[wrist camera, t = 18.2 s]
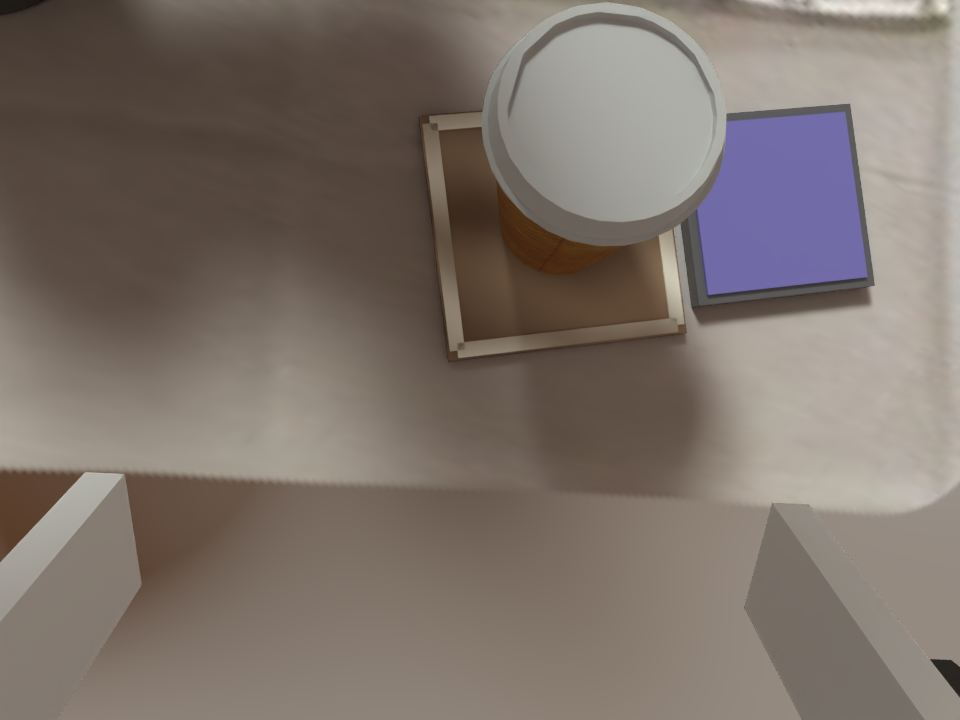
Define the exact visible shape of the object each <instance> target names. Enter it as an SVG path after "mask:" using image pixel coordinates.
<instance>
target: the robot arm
mask: <svg viewBox="0 0 960 720" xmlns="http://www.w3.org/2000/svg"><path fill="white" fill-rule="evenodd" d="M41 1H43V0H0V14H5V13H9V12H13V11H17V10H20V9H23V8H27V7H29V6H32V5H34V4H37V3H39V2H41ZM141 585H142V584H141V578H140V571H139V565H138V558H137V552H136V546H135V539H134V532H133V526H132V520H131V513H130V506H129V500H128V494H127V487H126V480H125V474H110V473H88V472H85V473H84V474H83V475H82V476H81V478H79V480H78V481H77V482H76V483H75V484H74V485H73V486H72V487H71V488H70V489H69V490H68V491H67V492H66V493H65V494H64V495H63V496H62V498H61V499H60V500H59V501H58V502H57V503H56V504H55V505H54V506H53V507H52V508H51V509H50V510H49V511H48V512H47V513H46V515H45V516H44V517H43V518H42V519H41V520H40V521H39V522H38V523H37V524H36V525H35V526H34V527H33V528H32V529H31V530H30V532H29V533H28V534H27V535H26V536H25V537H24V538H23V539H22V540H21V541H20V542H19V543H18V544H17V546H15V547H14V549H13V550H12V551H11V552H10V553H9V554H8V555H7V556H6V557H5V558H4V559H3V560H2V561H1V562H0V720H57V719H58V717H59V715H60V714H61V712H62V711H63V709H64V707H65V706H66V704H67V703H68V701H69V699H70V698H71V696H72V695H73V693H74V691H75V690H76V688H77V687H78V685H79V684H80V682H81V680H82V679H83V677H84V676H85V674H86V672H87V671H88V669H89V667H90V666H91V664H92V663H93V661H94V659H95V658H96V656H97V655H98V653H99V652H100V650H101V649H102V647H103V645H104V644H105V642H106V640H107V639H108V637H109V636H110V634H111V632H112V631H113V629H114V628H115V626H116V625H117V623H118V621H119V620H120V618H121V617H122V615H123V613H124V612H125V610H126V609H127V607H128V605H129V604H130V602H131V601H132V599H133V597H134V596H135V594H136V593H137V591H138V589H139V588H140V586H141ZM744 608H745V610H746V612H747V614H748V616H749V618H750V620H751V622H752V624H753V625H754V628H755V630H756V632H757V633H758V635H759V637H760V639H761V641H762V643H763V645H764V647H765V649H766V651H767V653H768V655H769V657H770V659H771V661H772V663H773V665H774V666H775V668H776V670H777V672H778V674H779V676H780V678H781V680H782V682H783V684H784V686H785V688H786V690H787V692H788V693H789V696H790V698H791V699H792V701H793V703H794V705H795V707H796V709H797V711H798V713H799V715H800V717H801V719H802V720H960V667H959V666H958V665H957V664H955V663H954V662H953V661H951V660H935V659H933V660H932V659H929V658H928V657H927V655H926V654H925V653H924V651H923V650H922V649H921V648H920V646H919V645H918V644H917V643H916V641H915V640H914V639H913V637H912V636H911V635H910V634H909V632H908V631H907V630H906V628H905V627H904V626H903V625H902V624H901V622H900V621H899V619H898V618H897V617H896V616H895V614H894V613H893V612H892V611H891V609H890V608H889V607H888V606H887V604H886V603H885V602H884V600H883V599H882V598H881V597H880V595H879V594H878V593H877V592H876V590H875V589H874V588H873V586H872V585H871V584H870V583H869V581H868V580H867V579H866V577H865V576H864V575H863V574H862V572H861V571H860V570H859V568H858V567H857V566H856V565H855V563H854V562H853V561H852V559H851V558H850V557H849V556H848V554H847V553H846V552H845V551H844V549H843V548H842V547H841V545H840V544H839V543H838V542H837V540H836V539H835V538H834V537H833V535H832V534H831V533H830V531H829V530H828V529H827V528H826V526H825V525H824V524H823V522H822V521H821V520H820V519H819V517H818V516H817V515H816V513H815V512H814V511H813V510H812V508H811V507H810V506H809V505H807V504H785V503H772V506H771V509H770V513H769V517H768V521H767V524H766V528H765V532H764V536H763V539H762V543H761V547H760V551H759V554H758V558H757V562H756V566H755V570H754V573H753V577H752V581H751V584H750V588H749V592H748V596H747V599H746V603H745V607H744Z"/></svg>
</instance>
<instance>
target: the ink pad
mask: <svg viewBox="0 0 960 720" xmlns="http://www.w3.org/2000/svg"><path fill="white" fill-rule="evenodd" d="M681 229H682V237H683V244H684V252H685V260H686V268H687V275H688V283H689V291H690V298H691V306H692V307H700V306H709V305H718V304H727V303H736V302H744V301H753V300H762V299H771V298H779V297H788V296H797V295H806V294H815V293H823V292H832V291H841V290H850V289H858V288H865V287H870V286H875V284H874V277H873V269H872V262H871V255H870V247H869V240H868V233H867V225H866V218H865V210H864V203H863V196H862V188H861V181H860V174H859V166H858V159H857V152H856V144H855V137H854V130H853V122H852V115H851V107H850V104H841V105H829V106H816V107H804V108H791V109H779V110H766V111H754V112H741V113H729V114H726V138H725V152H724V156H723V160H722V164H721V168H720V172H719V174H718V176H717V178H716V181H715V183H714V185H713V187H712V189H711V190H710V192H709V194H708V195H707V197H706V198H705V199H704V201H703V202H702V203H701V204H700V206H699V207H698V208H697V209H696V210H695V211H694V212H693V213H692V214H691V215H690V216H689V217H687V218H686V219H685V220H684V221H683V222H681Z"/></svg>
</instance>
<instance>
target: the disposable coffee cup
mask: <svg viewBox="0 0 960 720" xmlns="http://www.w3.org/2000/svg"><path fill="white" fill-rule="evenodd" d="M726 113H727V110H726V105H725V100H724V95H723V91H722V86H721V83H720V81H719V78H718V76H717V74H716V71H715V69H714V67H713V65H712V64H711V62H710V60H709V59H708V57H707V56H706V54H705V53H704V52H703V50H702V49H701V48H700V47H699V46H698V45H697V43H696V42H695V41H694V40H693V39H692V38H691V37H690V36H689V35H688V34H687V33H685V32H684V31H683V30H681V29H680V28H679V27H677V26H676V25H675V24H673V23H672V22H671V21H670V20H668V19H666V18H663V17H661V16H659V15H657V14H654V13H652V12H650V11H648V10H645V9H643V8H641V7H635V6H629V5H622V4H616V3H609V2H605V3H597V4H589V5H581V6H574V7H572V8H569V9H567V10H565V11H562V12H560V13H557V14H555V15H553V16H550V17H549V18H547V19H546V20H544V21H543V22H542V23H540V24H539V25H537V26H536V27H534V28H533V29H532V30H531V31H530V32H529V33H528V34H526V35H525V36H524V37H522V38H521V39H520V40H518V41H517V42H516V43H515V44H514V45H513V46H512V48H511V49H510V50H509V51H508V52H507V53H506V54H505V56H504V57H503V58H502V59H501V61H500V62H499V64H498V66H497V68H496V69H495V71H494V73H493V75H492V77H491V79H490V82H489V85H488V88H487V90H486V93H485V98H484V105H483V111H482V136H483V145H484V148H485V151H486V154H487V157H488V161H489V164H490V167H491V170H492V173H493V175H494V176H495V178H496V185H497V196H498V205H499V218H500V228H501V231H502V234H503V238H504V240H505V241H506V243H507V245H508V247H509V248H510V250H511V251H512V252H513V253H514V254H515V256H516V257H517V258H518V259H519V260H521V261H522V262H523V263H524V264H526V265H527V266H529V267H531V268H533V269H534V270H537V271H541V272H544V273H547V274H554V275H565V274H572V273H576V272H579V271H582V270H584V269H586V268H588V267H590V266H591V265H593V264H594V263H596V262H598V261H599V260H601V259H603V258H605V257H606V256H608V255H610V254H612V253H614V252H615V251H617V250H619V249H620V248H622V247H624V246H626V245H630V244H635V243H639V242H644V241H647V240H649V239H651V238H654V237H656V236H658V235H661V234H663V233H665V232H668V231H670V230H671V229H673V228H674V227H676V226H677V225H678V224H680V223H681V222H683V221H684V220H685V219H686V218H687V217H689V216H690V215H691V214H692V213H693V212H694V211H695V210H696V209H697V208H698V207H699V206H700V204H701V203H702V202H703V201H704V199H705V198H706V197H707V195H708V194H709V192H710V190H711V189H712V187H713V185H714V183H715V181H716V178H717V176H718V174H719V172H720V168H721V164H722V160H723V156H724V152H725V138H726Z"/></svg>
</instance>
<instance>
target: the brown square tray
mask: <svg viewBox="0 0 960 720" xmlns="http://www.w3.org/2000/svg"><path fill="white" fill-rule="evenodd" d="M419 121H420V130H421V138H422V146H423V155H424V163H425V171H426V180H427V188H428V196H429V204H430V213H431V221H432V229H433V238H434V246H435V254H436V263H437V271H438V279H439V287H440V296H441V304H442V312H443V321H444V329H445V337H446V345H447V354H448V361H457V360H465V359H474V358H482V357H490V356H499V355H507V354H516V353H524V352H533V351H541V350H550V349H558V348H566V347H575V346H583V345H592V344H600V343H609V342H617V341H626V340H634V339H642V338H651V337H659V336H668V335H676V334H684V333H687V332H686V324H685V317H684V309H683V301H682V293H681V286H680V278H679V270H678V262H677V255H676V247H675V239H674V231H673V229H671V230H670V231H668V232H665V233H663V234H661V235H658V236H656V237H654V238H651V239H649V240H647V241H644V242H639V243H635V244H630V245H626V246H624V247H622V248H620V249H619V250H617V251H615V252H614V253H612V254H610V255H608V256H606V257H605V258H603V259H601V260H599V261H598V262H596V263H594V264H593V265H591V266H590V267H588V268H586V269H584V270H582V271H579V272H576V273H572V274H565V275H554V274H547V273H544V272H541V271H537V270H534V269H533V268H531V267H529V266H527V265H526V264H524V263H523V262H522V261H521V260H519V259H518V258H517V257H516V256H515V254H514V253H513V252H512V251H511V250H510V248H509V247H508V245H507V243H506V241H505V240H504V238H503V234H502V231H501V228H500V218H499V205H498V196H497V185H496V178H495V176H494V175H493V173H492V170H491V167H490V164H489V161H488V157H487V154H486V151H485V148H484V145H483V136H482V111H473V112H460V113H447V114H433V115H420V116H419Z"/></svg>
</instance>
